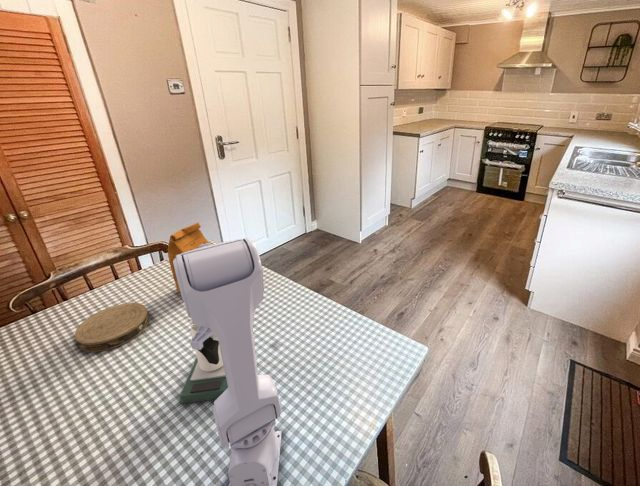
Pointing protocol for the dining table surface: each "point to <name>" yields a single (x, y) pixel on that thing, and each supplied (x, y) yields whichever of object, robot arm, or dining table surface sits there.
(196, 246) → the coffee package
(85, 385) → the dining table surface
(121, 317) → the tan flat round disc
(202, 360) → the can
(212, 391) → the scale
